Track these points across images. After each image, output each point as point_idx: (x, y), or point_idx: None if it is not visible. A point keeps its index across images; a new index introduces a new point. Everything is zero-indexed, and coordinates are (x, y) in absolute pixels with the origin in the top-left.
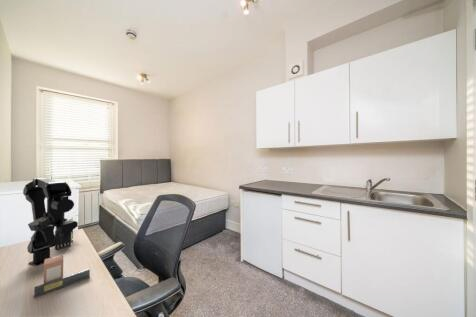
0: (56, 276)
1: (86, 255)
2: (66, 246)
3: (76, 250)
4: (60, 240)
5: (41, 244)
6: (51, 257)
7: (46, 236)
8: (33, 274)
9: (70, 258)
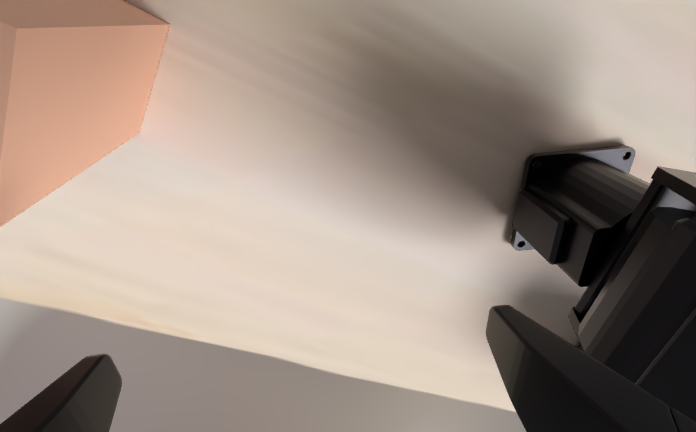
0: None
1: (328, 338)
2: (581, 346)
3: (467, 345)
4: (38, 429)
5: (646, 268)
6: (1, 113)
7: (572, 404)
8: (422, 74)
9: (394, 285)
